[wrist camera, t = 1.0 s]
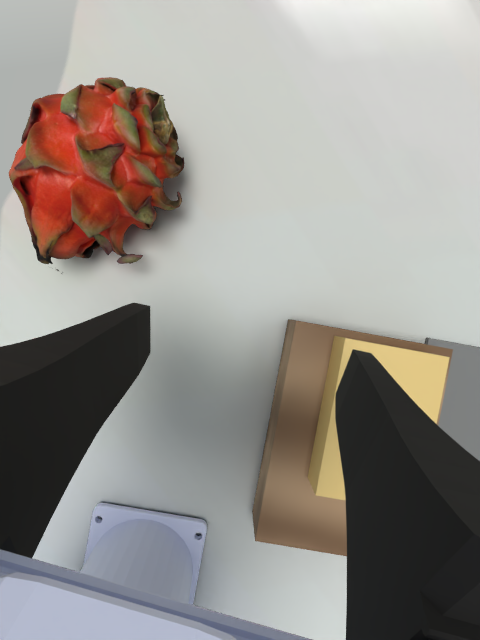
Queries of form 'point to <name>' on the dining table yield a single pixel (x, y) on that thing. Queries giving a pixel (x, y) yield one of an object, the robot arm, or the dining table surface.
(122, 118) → the dragon fruit
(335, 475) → the yellow rectangular block
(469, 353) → the mat
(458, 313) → the dining table surface
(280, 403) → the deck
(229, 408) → the dining table surface
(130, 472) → the dining table surface
